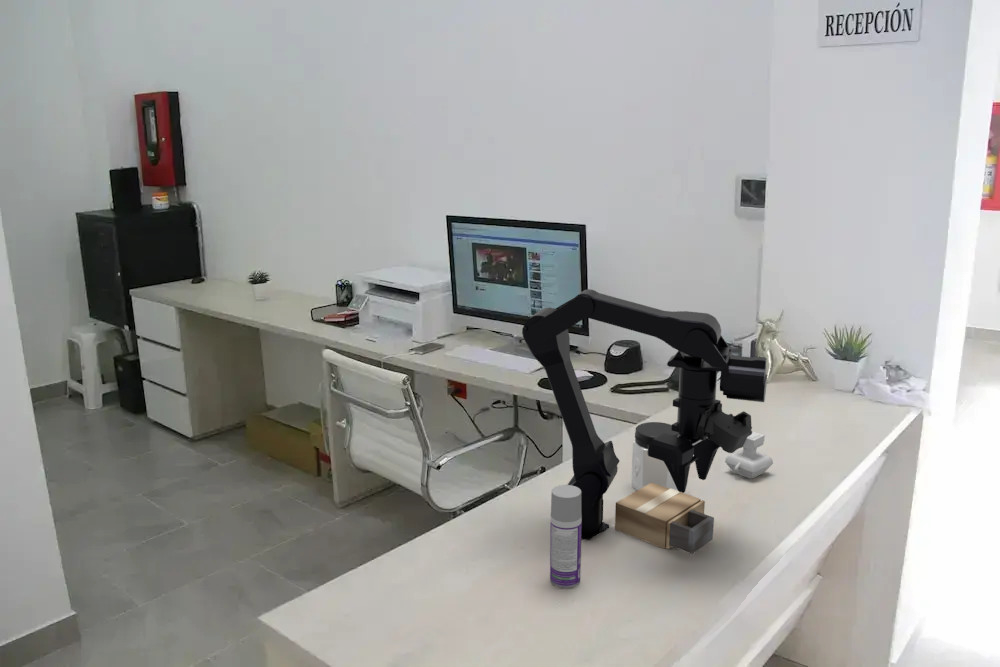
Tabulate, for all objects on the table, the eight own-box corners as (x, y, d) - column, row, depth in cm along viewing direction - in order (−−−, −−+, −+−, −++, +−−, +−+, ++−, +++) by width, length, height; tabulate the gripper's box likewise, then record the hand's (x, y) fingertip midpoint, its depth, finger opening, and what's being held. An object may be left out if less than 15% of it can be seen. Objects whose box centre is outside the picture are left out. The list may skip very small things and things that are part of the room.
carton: (664, 549, 138) (665, 520, 136) (614, 529, 144) (615, 502, 143) (699, 525, 145) (700, 498, 144) (650, 507, 152) (651, 481, 151)
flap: (691, 558, 134) (693, 531, 133) (666, 548, 137) (667, 522, 136) (725, 533, 142) (727, 508, 141) (700, 524, 145) (702, 499, 144)
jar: (625, 481, 163) (626, 423, 160) (662, 475, 165) (665, 418, 162) (646, 501, 154) (648, 440, 151) (685, 495, 157) (688, 435, 154)
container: (561, 569, 132) (562, 481, 128) (586, 579, 129) (588, 489, 125) (543, 581, 128) (544, 492, 124) (569, 592, 125) (570, 501, 122)
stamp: (748, 485, 161) (751, 445, 158) (720, 474, 166) (722, 434, 163) (775, 473, 166) (779, 433, 164) (747, 462, 171) (750, 424, 169)
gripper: (713, 422, 119) (706, 521, 123) (772, 391, 133) (765, 481, 137) (647, 404, 127) (643, 498, 131) (709, 376, 140) (704, 463, 144)
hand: (692, 485), depth 135 cm, fingers open, 6 cm apart
